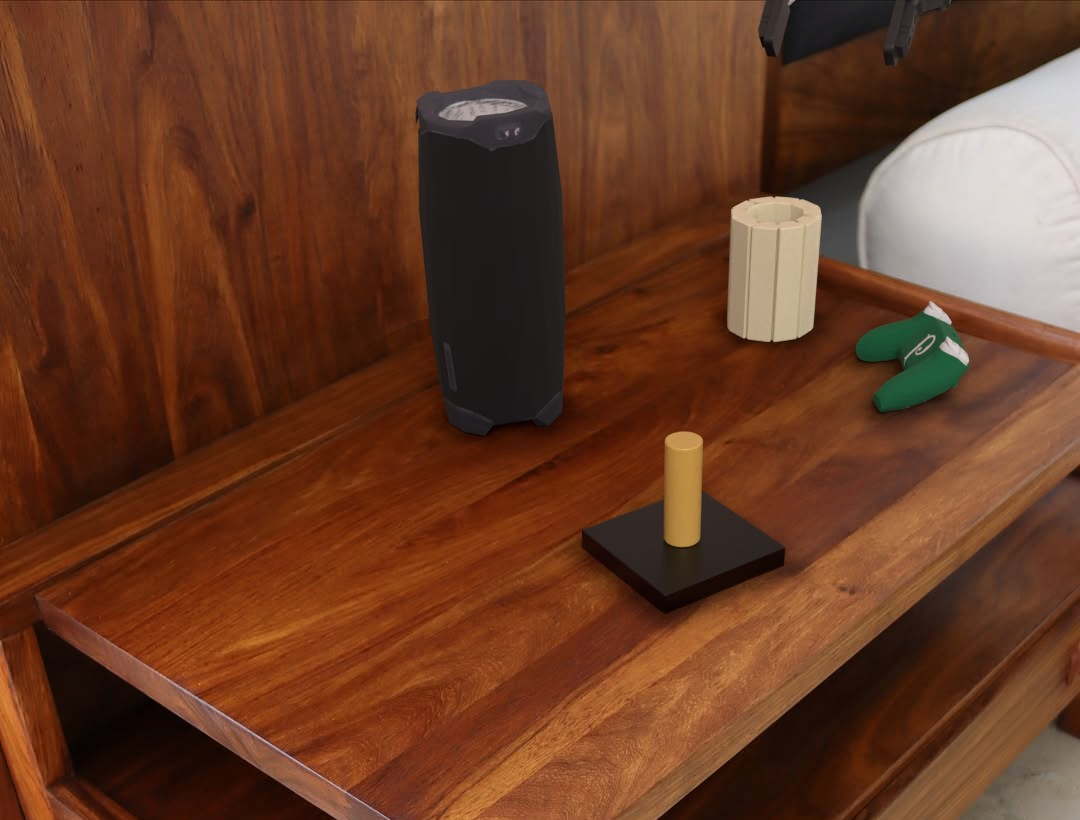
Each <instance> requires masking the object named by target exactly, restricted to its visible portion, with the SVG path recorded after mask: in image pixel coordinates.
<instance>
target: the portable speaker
mask: <svg viewBox="0 0 1080 820" xmlns="http://www.w3.org/2000/svg"><path fill="white" fill-rule="evenodd" d="M551 107H552V106H551V103H550V100H549V96H548V94H547V92H546V90H545V89H544V87H543V86H542V85H541V84H538V83H535V82H531V81H530V80H529V81H528V80H526V79H494V80H491V81H489V82H488V83H486V84H483V85H477V86H473V87H468V88H463V89H458V90H453V91H445V92H441V91H440V90H433V91H426V92H425V93H424V94H423V95H421V96H420V97H418V98H417V99H416V108H415V113H414V116H415V125H417V123H418V125H419V128H418V129H417V136H418V137H417V152H418V153H417V154H418V157H417V158H418V159H417V161H418V168H417V169H418V214H419V215H418V216H419V225H420V226H419V227H420V236H421V247H422V256H423V266H424V277H425V287H426V297H427V298H426V299H427V308H428V318H429V328H430V334H431V340H432V345H433V351H434V352H433V353H434V358H435V363H436V370H437V375H438V381H439V387H440V393H441V398H443V404H444V408H445V413H446V416H447V420H448V424H450V425H452V426H454V427H456V428H457V429H459V430H461V431H463V432H464V433H469V434H475V435H479V436H483V437H486V435H487V434H488V432H489V431H490V430H491V429H492V428H493V426H499V425H506V424H512V423H519V422H528V421H532V422H533V423H534V425H536V427H547V426H550V425H551V424H552V423H553V422H554V421H555V420H556V419H557V418H558V417H559V416H560V415H561V414H562V413H563V403H564V402H563V401H564V400H563V399H564V398H563V397H564V380H565V346H566V345H565V343H566V279H565V246H564V245H565V244H564V243H565V242H564V217H563V215H564V213H563V212H564V211H563V191H562V190H563V189H562V182H561V174H560V173H561V172H560V165H559V157H558V149H557V148H558V147H557V141H556V133H555V124H554V123H555V122H554V115H553V114H554V113H553V112H552V108H551Z"/></svg>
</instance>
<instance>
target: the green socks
mask: <svg viewBox="0 0 1080 820" xmlns="http://www.w3.org/2000/svg"><path fill="white" fill-rule="evenodd" d="M952 323H953V321H952V320H951V318H950V317H949V315H948V314H947V313H946V312H945V311H944V310H943V309H942V308H941V307H940V306H938V305H937V304H935V303H934V302H933V301H932V300H930V301H928V305H927V306H926V307H925V308H924V309H922V310H921V311H920V312H919V313H918V314H917V315H914V316H912V317H910V318H906V319H901V320H897V321H893V322H889V323H886V324H883V325H880V326H876V327H874V328H873V329H870V330H868V331H867V332H865V333H864V334H863V335H862V336H861V337H860V338H859V340H857V342H856V344H855V345H856V346H855V353H856V355H857V357H858V358H859V360H861V361H863V362H871V363H873V362H887V361H896V360H897V361H898V360H900V363H901V366H902V369H903V371H901V372H899V373H898V374H896V375H894V376H893V377H891V378H889V379H888V380H886V381H885V382H884V383H883V384H882V385H881V386H880V388H878V389H877V390H876V391H875V393H874V394H873V396H872V403H873V404H874V405H875V407H876V409H877V410H878V412H879V413H890V412H894V411H899V410H904V409H908V408H911V407H914V406H917V405H920V404H922V403H925V402H927V401H930V400H932V399H934V398H936V397H938V396H940V395H941V394H944V393H945V392H947V391H949V390H950V389H951V390H952V389H953V390H954V389H955V388H956V387H957V386H959V381H960V380H961V379H962V377H963V376H964V375H965V374H966V373H967V372H968V371H969V369H970V358H969V354H968V352H966V350H965V347H964V345H963V341H962V339H961V337H960V336H959V334H958V331H956V329H955V328H954V327H953V325H952Z"/></svg>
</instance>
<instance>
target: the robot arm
mask: <svg viewBox="0 0 1080 820" xmlns="http://www.w3.org/2000/svg"><path fill="white" fill-rule="evenodd" d="M795 1H796V0H765V3H764V5H763V9H762V13H761V17H760V19H759V20H760V21H759V24H758V28H757V32H758V38H759V41H760V45H761V47H762V48H763V49H764V51H765V54H766V56H767V57H772V58H777V57H779V55H780V52H781V47H782V44H783V40H784V36H785V32H786V29H787V25H788V22H789V17H790V14H791V9H790V6H791V5H792V4H793V3H794V2H795ZM951 2H952V0H895V3H894V5H893V10H892V15H891V16H890V17H891V18H890V21H889V25H888V28H887V32H886V37H885V40H884V43H883V49H882V55H883V60H884V66H887V67H897V65H898V61H899V59H906V57H907V55H909V52H910V49H911V46H912V41H913V38H914V36H915V35H914V34H915V31H916V27H917V23H918V19H919V18H920V16H921V15H922V14H924V13H925V12H927V11H931V10H935V11H937V12H944V11H946V10H947V9H949V7H950V6H951Z"/></svg>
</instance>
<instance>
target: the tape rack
mask: <svg viewBox="0 0 1080 820" xmlns="http://www.w3.org/2000/svg"><path fill="white" fill-rule="evenodd" d="M703 451H704V440H703V437H702V436H701V435H699V434H698V433H695V432H692V431H676V432H673V433H670V434H669V435H666V437H665V439H664V455H663V456H664V458H663V459H664V460H663V462H664V465H663V467H664V468H663V469H664V470H663V471H664V474H663V499H661V500H658V501H655V502H653V503H651V504H647V505H645V506H642V507H639V508H637V509H633V510H631V511H628V512H626V513H623V514H621V515H618V516H615V517H612V518H610V519H607V520H604V521H601V522H599V523H596V524H594V525H591V526H588V527H585V528H583V529H581V548H582V549H583V550H585V552H587V553H588V554H589V555H591V556H592V557H593V558H594V559H595V560H597V562H599V563H600V564H602V566H604V567H605V568H607V569H608V570H609V571H611V572H612V573H613V574H614V575H616V576H617V577H618V578H619V579H620V580H621V581H623V582H624V583H625V584H627V585H628V586H629V587H630V588H632V589H633V590H634V591H635V592H637V593H638V594H639V595H640V596H642V597H643V598H644V599H645V600H647V601H648V602H649V603H651V604H652V605H653V606H654V607H655V608H657V609H658V610H659V611H660V612H662V613H663V614H664V615H665V614H668V613H671V612H673V611H675V610H678V609H680V608H683V607H685V606H688V605H691V604H693V603H695V602H698V601H700V600H703V599H705V598H708V597H710V596H713V595H715V594H717V593H720V592H722V591H725V590H727V589H729V588H732V587H734V586H737V585H740V584H742V583H744V582H747V581H750V580H753V579H755V578H756V577H759V576H761V575H762V576H763V575H764V574H766V573H769V572H771V571H774V570H776V569H779V568H781V567H784V566H785V559H786V546H784V545H783V544H782V543H780V542H779V541H777V540H775V539H774V538H773V537H772V536H770V535H769V534H767V533H765V532H764V531H763V530H761V529H759V528H758V527H756V526H755V525H753V524H752V523H751V522H749V521H747V519H745V518H743V517H742V516H740V515H739V514H737V513H736V512H735V511H733V510H732V509H730V508H729V507H727V506H726V505H725V504H723V503H722V502H720V501H718V499H716V498H714V497H713V496H711V495H710V494H708V493H707V492H705V491H704V490H702V489H703V459H704V458H703V457H704V455H703V453H704V452H703Z"/></svg>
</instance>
